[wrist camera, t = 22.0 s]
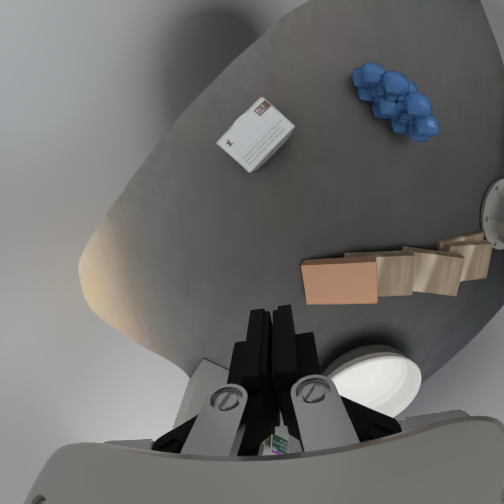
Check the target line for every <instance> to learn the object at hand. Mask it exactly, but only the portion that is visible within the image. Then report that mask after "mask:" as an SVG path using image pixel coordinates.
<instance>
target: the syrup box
mask: <svg viewBox="0 0 504 504" xmlns="http://www.w3.org/2000/svg"><path fill="white" fill-rule="evenodd" d="M264 442H265V444H264V450H263V454H262V455H278V454H288V429H287V426H284V423H283V419H282V415H281V411H280V426H279V427H275V434H273V435H271V436H270V437H268V438H267V439H266V440H265V441H264Z"/></svg>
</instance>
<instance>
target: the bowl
mask: <svg viewBox="0 0 504 504" xmlns="http://www.w3.org/2000/svg"><path fill="white" fill-rule="evenodd" d="M322 375H323V376H326V377H328V378H330V379H331V380H332V381H333V382H334V384H335V386H336V388H337V390H338V393H339V395H341V396H343V397H345V398H348V399H350V400H352V401H354V402H357V403H359V404H361V405H363V406H366V407H368V408H370V409H373V410H375V411H378V412H380V413H382V414H385V415H387V416H390V417H392V418H393V417H394V416H396V415H397V414H399V413H400V412H401V411H403V410H404V409H405V408H406V407H407V406H408V405H409V404H410V403H411V401H412V400H413V399H414V398H415V396H416V394H417V392H418V390H419V387H420V384H421V373H420V369H419V368H418V366H417V365H416V364H415V363H414V362H412V361H411V360H409V359H408V358H407V356H406V355H405V354H404V353H403V352H401V351H400V350H398V349H395V348H393V347H390V346H387V345H380V344H378V345H367V346H362V347H359V348H356V349H353V350H351V351H349V352H346V353H344V354H343V355H341V356H340V357H338V358H337V359H335V360H334V361H333V362H332V363H331V364H330V365H329V366H328V367H327V368H326V370H325V371H324V373H323V374H322Z"/></svg>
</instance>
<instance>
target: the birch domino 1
mask: <svg viewBox="0 0 504 504" xmlns="http://www.w3.org/2000/svg"><path fill="white" fill-rule="evenodd" d="M365 256H376V261H377V284H378V296H403V295H412V291H413V279H414V265H415V255H414V253H413V251H412V250H404V251H379V252H354V253H344V258H347V257H365Z"/></svg>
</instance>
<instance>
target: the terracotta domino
mask: <svg viewBox="0 0 504 504" xmlns="http://www.w3.org/2000/svg"><path fill="white" fill-rule="evenodd" d="M301 269H302V275H303V281H304V287H305V294H306V301H307V304H368V303H377V301H378V284H377V261H376V256H365V257H347V258H328V259H309V260H304V262H303V263H302V265H301Z"/></svg>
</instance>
